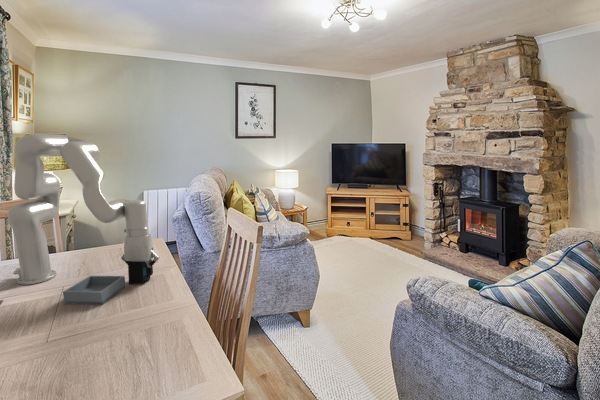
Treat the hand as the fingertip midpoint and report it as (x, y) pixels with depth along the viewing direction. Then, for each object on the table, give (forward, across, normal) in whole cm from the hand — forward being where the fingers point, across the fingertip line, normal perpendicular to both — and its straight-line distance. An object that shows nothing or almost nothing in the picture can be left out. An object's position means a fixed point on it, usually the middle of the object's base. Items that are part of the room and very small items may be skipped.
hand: (142, 275), depth 132 cm
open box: (+2, -10, -13) cm, 17 cm away
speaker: (+2, -1, 0) cm, 2 cm away
